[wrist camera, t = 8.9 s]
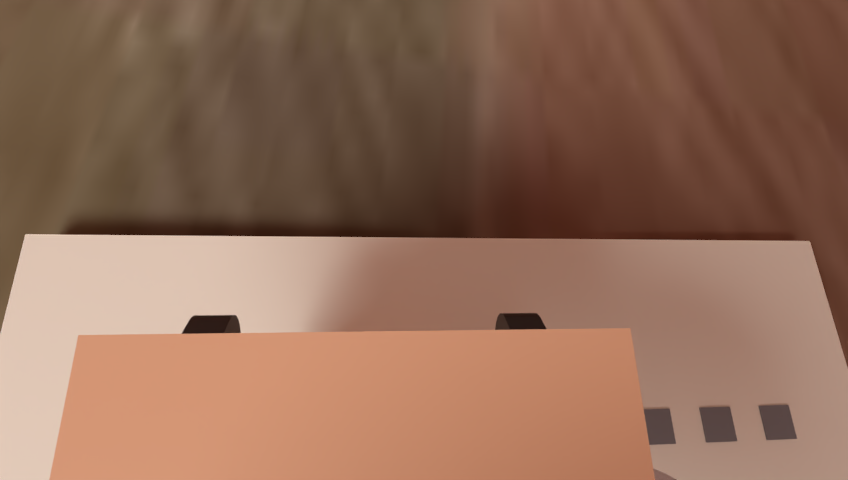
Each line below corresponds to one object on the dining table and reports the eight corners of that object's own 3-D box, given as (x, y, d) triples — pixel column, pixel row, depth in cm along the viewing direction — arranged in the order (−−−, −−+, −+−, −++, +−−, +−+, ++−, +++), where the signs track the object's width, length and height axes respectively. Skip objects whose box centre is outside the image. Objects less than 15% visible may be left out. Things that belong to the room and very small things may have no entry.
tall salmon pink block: (280, 383, 14) (78, 335, 4) (456, 378, 14) (630, 328, 5) (273, 502, 13) (-15, 795, 3) (462, 493, 13) (694, 717, 4)
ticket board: (50, 246, 16) (24, 233, 14) (782, 250, 18) (811, 240, 17) (-58, 713, 12) (-105, 746, 11) (887, 629, 15) (932, 648, 13)
